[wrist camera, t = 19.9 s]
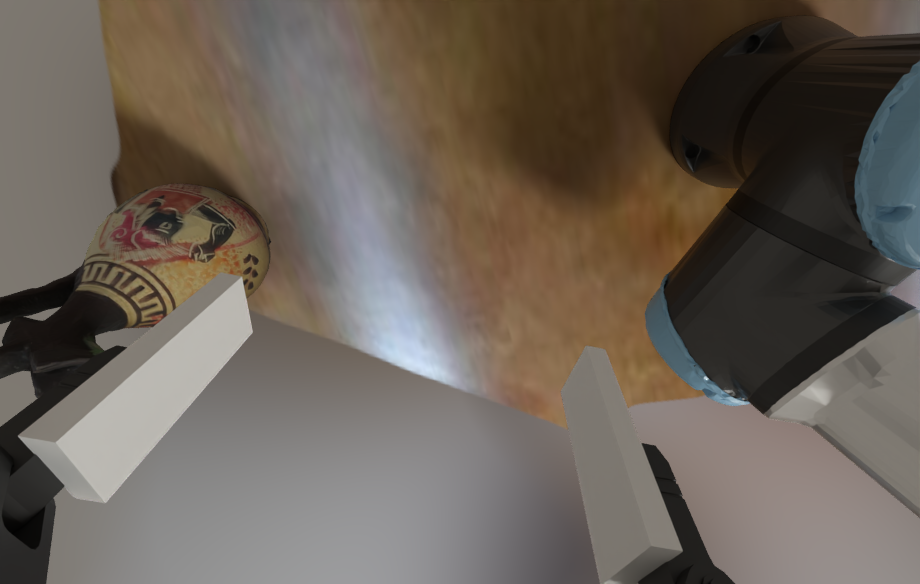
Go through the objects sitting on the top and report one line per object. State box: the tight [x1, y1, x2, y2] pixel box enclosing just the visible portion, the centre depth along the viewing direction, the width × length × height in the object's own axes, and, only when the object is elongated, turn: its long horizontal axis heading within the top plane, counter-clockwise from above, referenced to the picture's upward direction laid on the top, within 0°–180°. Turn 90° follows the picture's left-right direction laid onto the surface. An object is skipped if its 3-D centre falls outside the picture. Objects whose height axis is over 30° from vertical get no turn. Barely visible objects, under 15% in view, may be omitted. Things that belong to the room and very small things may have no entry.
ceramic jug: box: [0, 184, 271, 398], centre depth 36 cm, size 17×15×30 cm
